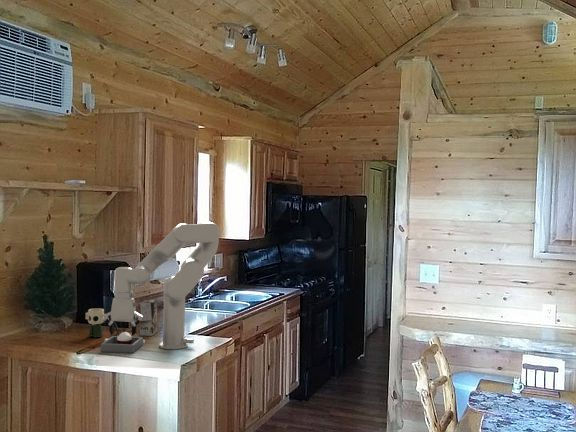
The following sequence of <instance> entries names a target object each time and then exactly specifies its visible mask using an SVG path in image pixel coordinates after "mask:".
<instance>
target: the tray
mask: <svg viewBox="0 0 576 432" xmlns="http://www.w3.org/2000/svg"><path fill="white" fill-rule="evenodd" d="M117 336H118V335H117ZM117 336H116V335H111V336H110V337H109V338H107V339H108V340H106V341H105V340H104V341H103V342H101V343H100V353H115V354H116V353H117V354H135V353H136V352H137V351H138V350H139V349H140V348H141V347H143V346H144V344H143V340H144V336H131V337H132V338H131V339H132V340H135V342H134V341H132V343H131V345H130V344H117Z"/></svg>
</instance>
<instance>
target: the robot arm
mask: <svg viewBox="0 0 576 432" xmlns="http://www.w3.org/2000/svg"><path fill="white" fill-rule="evenodd" d="M220 235H221V229H220V227H219V226H218V225H217V224H216V223H214V222H212V221H205V222H203V223H190V224H187V223H179V224H177V225H176V226H175V227H174V228H172V230H171V231H170V232H169V233H168V234H167V235H166V236H165V237H164V238H163V239H162V240H161V241H160V242H159V243H158V244H157V245H156V246H155V247H154V248H153V249H152V250H151V251H149V253H148V254H147V255H146V256H145V257H144V258H143V259H141V260H140V262H139V263H138V264H137V265H136V266H135V267H134V268H131V267H129V266H119V267H117V268H115V271H114V298H112V303H111V309H110V311H109V312H107V313H104V314H105V315H104V318H105V320H106V321H105V322H106V324H108V326H109V329H108V330H109V335H110V336H113V334H114V333H115V325H114V322H113V321H115V322H119V323H120V322H121V323H122V322H123V323H124V322H126V323H129V322H130V324H131V325H132V326H131V336H135V335H136V334H137V326H138V325H139V323H140V321H141V319H142V318H143V316H142V315H140V314H141V313H139V312H137V309H136V308H137V307H136V301H135V298H134V297H136V293H135V292H134V291H133V285H141V286H142V285H146V284H148V283H149V282H150V280H151V278H152V277H151V276H152V274H153V273H155V271H156V270H157V269H159V268H160V267H161V266H162V265H163V264H164V263H167V262H168V261H170V260H171V259H173V257H174V256H175V255H176V254H177V253H178V252H179V251H181V249H182V248H183V247H184V246H185V245H186V244H198V245H197V246H196V247H195V249H194V251H192V252H191V254H190V255H189V256H188V257H187V258H185V260H184V261H183V262H182V263H181V265H180V269H179V271H178V272H177V273H176V274H175V275H172V276H169V277H168V278H166V279H165V281H164V283H163V289H162V291H163V314H162V315H163V317H162V319H163V323H162V341H161V342H160V343H159V344H158V346H159V348H161V349H165V350H180V349H185V348H187V347H188V344H194V342H195V339H193V338H192V337H191V338H188V337H187V334H185V323H186V297H187V295H189V294H190V292H191V291H192V290H193V289H194V288H195V287H196V285H197V284H198V283H199V282H200V281H201V280H202V278H203V276H204V274H205V267H206V266H207V265H208V264H210V263H209V262H211V260H212V259H213V257H214V256H215V255H216V254H217V251H218V248H219V243H220V242H219V241H220V239H219V237H220ZM109 316H110V318H109ZM136 318H138V319H137V320H136Z"/></svg>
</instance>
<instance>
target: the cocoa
mask: <svg viewBox="0 0 576 432" xmlns="http://www.w3.org/2000/svg"><path fill="white" fill-rule="evenodd" d="M113 322H114V323H113V324H114V329H115V330H116V334H117V344H130V345H131V343H132V341H134V342H135V340H132V339H131V338H132V337H133V336H132V334H130V333H129V332H128V331H123V332H120V331H119V327H118V325H117V323H116V322H117V321H113Z"/></svg>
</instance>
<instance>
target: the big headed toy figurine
mask: <svg viewBox="0 0 576 432" xmlns="http://www.w3.org/2000/svg"><path fill="white" fill-rule="evenodd" d="M105 314H106V313H105V309H104V308H90V309H88V310H87V312H85V320H87V322H88V324H90V325H89V329H88V330H89V331H88V337H89V338H91V337H92V336H93V337H92V338H99V337H102V336H103V326H102V324H103V323H104V322H106V320H105V318H104V315H105Z"/></svg>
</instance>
